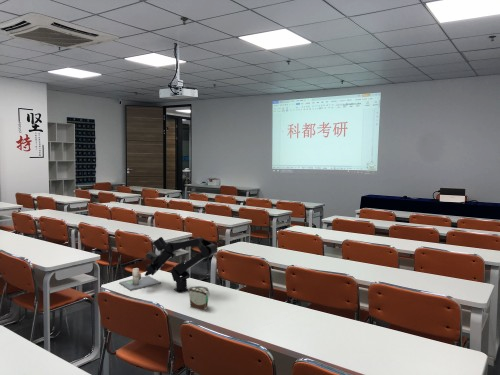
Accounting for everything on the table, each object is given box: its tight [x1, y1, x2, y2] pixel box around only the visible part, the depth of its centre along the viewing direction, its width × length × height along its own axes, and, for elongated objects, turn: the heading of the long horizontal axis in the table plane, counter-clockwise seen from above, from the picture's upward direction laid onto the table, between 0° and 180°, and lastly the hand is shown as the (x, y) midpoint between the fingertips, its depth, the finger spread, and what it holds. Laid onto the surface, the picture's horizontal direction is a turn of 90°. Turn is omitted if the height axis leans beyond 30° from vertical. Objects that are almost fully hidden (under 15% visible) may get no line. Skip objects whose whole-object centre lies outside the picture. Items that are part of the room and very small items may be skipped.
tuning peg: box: [132, 267, 142, 285], centre depth 231 cm, size 13×4×9 cm, turn 11°
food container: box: [187, 285, 211, 312], centre depth 196 cm, size 12×6×10 cm, turn 58°
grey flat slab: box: [118, 275, 162, 292], centre depth 231 cm, size 16×19×1 cm
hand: (145, 275), depth 226 cm, fingers closed
